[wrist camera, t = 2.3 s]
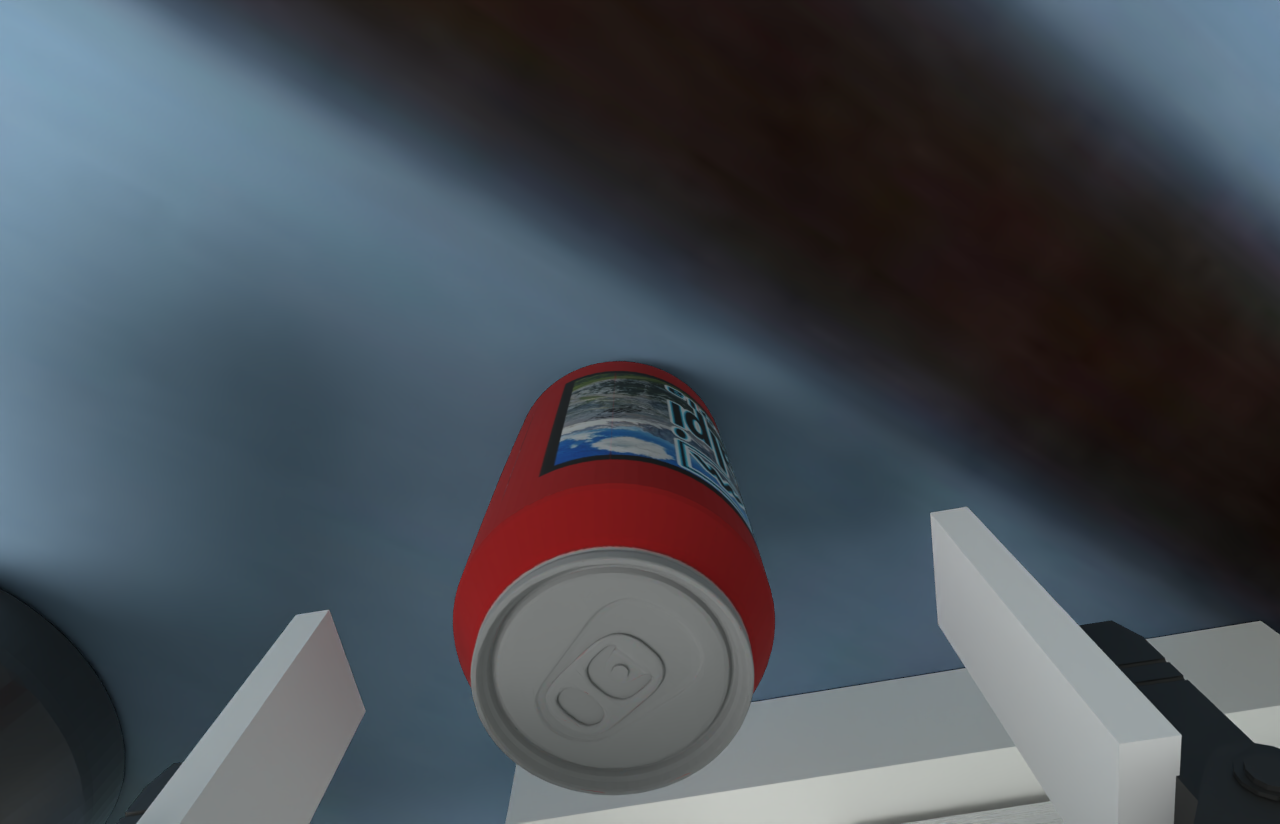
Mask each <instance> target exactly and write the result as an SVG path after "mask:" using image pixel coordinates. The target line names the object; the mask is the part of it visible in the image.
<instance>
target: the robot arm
mask: <svg viewBox="0 0 1280 824" xmlns="http://www.w3.org/2000/svg"><path fill="white" fill-rule="evenodd" d="M930 516H931V531H932V545H933V559H934V574H935V588H936V603H937V617H938V625H939V627H940V628H941V630H942V631H943V633H944V634H945V636H946V638H947V639H948V641H949V642H950V644H951V645H952V647H953V648H954V650H955V652H956V653H957V655H958V656H959V658H960V659H961V661H962V663H963V664H964V666H965V667H966V669H967V670H968V672H969V674H970V675H971V677H972V678H973V680H974V681H975V683H976V685H977V686H978V688H979V689H980V691H981V692H982V694H983V696H984V697H985V699H986V700H987V702H988V703H989V705H990V707H991V708H992V710H993V711H994V713H995V714H996V716H997V717H998V719H999V721H1000V722H1001V724H1002V725H1003V727H1004V728H1005V730H1006V732H1007V733H1008V735H1009V736H1010V738H1011V739H1012V741H1013V743H1014V744H1015V746H1016V747H1017V749H1018V750H1019V752H1020V754H1021V755H1022V757H1023V758H1024V760H1025V761H1026V763H1027V765H1028V766H1029V768H1030V769H1031V771H1032V772H1033V774H1034V776H1035V777H1036V779H1037V780H1038V782H1039V783H1040V785H1041V786H1042V788H1043V790H1044V791H1045V793H1046V794H1047V796H1048V797H1049V799H1050V801H1051V802H1052V804H1053V805H1054V807H1055V808H1056V810H1057V812H1058V813H1059V815H1060V816H1061V818H1062V819H1063V821H1064V823H1065V824H1280V749H1279V748H1277V747H1274V746H1269V745H1263V744H1258V743H1254V742H1253V741H1252V740H1251V739H1250V738H1249V737H1248V736H1247V735H1246V734H1245V733H1243V732H1242V731H1241V730H1240V729H1239V728H1238V727H1237V726H1236V725H1235V724H1234V723H1233V722H1232V721H1231V720H1230V719H1229V718H1228V717H1227V716H1226V715H1225V714H1223V713H1222V712H1221V711H1220V710H1219V709H1218V708H1217V707H1216V706H1215V705H1214V704H1213V703H1212V702H1211V701H1210V700H1209V699H1208V698H1207V697H1206V696H1205V695H1204V694H1202V693H1201V692H1200V691H1199V690H1198V689H1197V688H1196V687H1195V686H1194V685H1193V684H1192V683H1191V682H1190V681H1189V680H1185V679H1184V677H1183V675H1182V674H1181V673H1180V672H1179V671H1178V670H1177V669H1176V668H1175V667H1174V666H1173V665H1172V664H1171V663H1170V662H1166V660H1165V657H1164V656H1163V655H1161V654H1160V653H1159V652H1158V651H1157V650H1156V649H1155V648H1154V647H1153V646H1152V645H1151V644H1150V643H1149V642H1148V641H1147V640H1146V639H1145V638H1144V637H1142V636H1140V635H1138V634H1136V633H1134V632H1133V631H1131V630H1129V629H1127V628H1125V627H1123V626H1121V625H1119V624H1117V623H1115V622H1113V621H1105V622H1099V623H1092V624H1085V625H1078V624H1077V623H1076V622H1075V621H1074V620H1073V619H1072V618H1071V617H1070V616H1069V615H1068V614H1067V613H1066V611H1065V610H1064V609H1063V608H1062V607H1061V606H1060V605H1059V604H1058V603H1057V602H1056V601H1055V600H1054V599H1053V598H1052V597H1051V595H1050V594H1049V593H1048V592H1047V591H1046V590H1045V589H1044V588H1043V587H1042V586H1041V585H1040V584H1039V583H1038V582H1037V581H1036V579H1035V578H1034V577H1033V576H1032V575H1031V574H1030V573H1029V572H1028V571H1027V570H1026V569H1025V568H1024V567H1023V566H1022V565H1021V564H1020V562H1019V561H1018V560H1017V559H1016V558H1015V557H1014V556H1013V555H1012V554H1011V553H1010V552H1009V551H1008V550H1007V549H1006V548H1005V546H1004V545H1003V544H1002V543H1001V542H1000V541H999V540H998V539H997V538H996V537H995V536H994V535H993V534H992V533H991V532H990V530H989V529H988V528H987V527H986V526H985V525H984V524H983V523H982V522H981V521H980V520H979V519H978V518H977V517H976V516H975V515H974V513H973V512H972V511H971V510H970V509H969V508H968V507H962V508H956V509H950V510H943V511H937V512H931V513H930ZM365 712H366V710H365V708H364V705H363V702H362V699H361V697H360V694H359V691H358V688H357V685H356V683H355V680H354V677H353V674H352V671H351V669H350V666H349V663H348V660H347V658H346V655H345V652H344V649H343V646H342V644H341V641H340V638H339V635H338V633H337V630H336V627H335V624H334V621H333V619H332V616H331V613H330V610H323V611H316V612H310V613H304V614H298V615H295V617H294V618H293V619H292V621H291V622H290V623H289V624H288V626H287V627H286V628H285V630H284V631H283V632H282V634H281V635H280V636H279V638H278V639H277V640H276V641H275V643H274V644H273V645H272V647H271V648H270V649H269V651H268V652H267V653H266V655H265V656H264V657H263V659H262V660H261V661H260V662H259V664H258V665H257V666H256V668H255V669H254V670H253V672H252V673H251V674H250V676H249V677H248V678H247V679H246V681H245V682H244V683H243V685H242V686H241V687H240V689H239V690H238V691H237V693H236V694H235V695H234V696H233V698H232V699H231V700H230V702H229V703H228V704H227V706H226V707H225V708H224V710H223V711H222V712H221V713H220V715H219V716H218V717H217V719H216V720H215V721H214V723H213V724H212V725H211V727H210V728H209V729H208V730H207V732H206V733H205V734H204V736H203V737H202V738H201V740H200V741H199V742H198V744H197V745H196V746H195V748H194V749H193V750H192V751H191V753H190V754H189V755H188V757H187V758H186V759H185V761H184V762H181V763H174V764H173V765H171V766H170V767H169V768H168V769H167V770H165V771H164V772H163V773H162V774H161V775H159V776H158V777H157V778H156V779H155V780H154V781H152V782H151V783H150V784H149V785H148V786H146V787H145V788H144V790H143V791H142V792H141V793H140V795H139V796H138V797H137V798H136V800H135V801H134V802H133V804H132V805H131V806H130V807H129V809H128V810H127V811H126V812H125V817H123V818H121V819H120V820H119V821H118V822H117V824H309V823H310V821H311V819H312V817H313V815H314V813H315V811H316V809H317V807H318V805H319V803H320V801H321V799H322V797H323V795H324V793H325V791H326V789H327V788H328V786H329V784H330V782H331V780H332V778H333V776H334V774H335V772H336V770H337V768H338V766H339V764H340V762H341V760H342V758H343V756H344V754H345V752H346V750H347V748H348V746H349V744H350V742H351V740H352V738H353V736H354V734H355V732H356V730H357V728H358V726H359V724H360V722H361V720H362V718H363V716H364V714H365ZM124 769H125V753H124V743H123V736H122V732H121V728H120V724H119V720H118V717H117V715H116V712H115V709H114V707H113V704H112V702H111V700H110V698H109V695H108V694H107V692H106V690H105V688H104V686H103V684H102V683H101V681H100V680H99V678H98V676H97V675H96V673H95V672H94V670H93V669H92V668H91V666H90V665H89V664H88V662H87V661H86V660H85V658H84V657H83V656H82V655H81V654H80V652H79V651H78V650H77V649H76V648H75V647H74V646H73V645H72V644H71V642H70V641H69V640H68V639H67V638H66V637H65V636H64V635H63V634H62V633H60V632H59V631H58V630H57V629H56V628H55V627H54V626H53V625H52V624H50V623H49V622H48V621H47V620H46V619H44V618H43V617H42V616H41V615H39V614H38V613H37V612H35V611H34V610H33V609H31V608H30V607H28V606H27V605H26V604H24V603H23V602H21V601H20V600H18V599H16V598H15V597H13V596H12V595H10V594H8V593H7V592H5V591H3V590H1V589H0V824H104V823H105V822H106V821H107V819H108V817H109V816H110V814H111V812H112V811H113V809H114V806H115V804H116V802H117V800H118V797H119V794H120V791H121V787H122V783H123V777H124Z"/></svg>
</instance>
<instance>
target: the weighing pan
mask: <svg viewBox="0 0 1280 824" xmlns="http://www.w3.org/2000/svg"><path fill="white" fill-rule="evenodd" d="M903 824H1065V823H1064V821H1063V819H1062V818H1061V816H1060V815H1059V813H1058V812H1057V810H1056V808H1055V807H1054V805H1053V804H1052V802H1051V801H1048V802H1042V803H1035V804H1028V805H1022V806H1015V807H1009V808H1002V809H995V810H989V811H982V812H976V813H969V814H962V815H956V816H949V817H943V818H936V819H930V820H923V821H916V822H910V823H903Z"/></svg>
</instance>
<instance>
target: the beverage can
mask: <svg viewBox="0 0 1280 824" xmlns="http://www.w3.org/2000/svg"><path fill="white" fill-rule="evenodd" d="M774 631H775V612H774V603H773V598H772V593H771V589H770V586H769V583H768V579H767V576H766V573H765V570H764V566H763V563H762V560H761V557H760V553H759V550H758V547H757V544H756V541H755V537H754V534H753V531H752V528H751V525H750V522H749V519H748V516H747V513H746V510H745V507H744V504H743V501H742V497H741V494H740V491H739V488H738V485H737V482H736V479H735V476H734V474H733V471H732V468H731V465H730V462H729V459H728V456H727V453H726V451H725V448H724V445H723V442H722V440H721V437H720V434H719V432H718V429H717V426H716V424H715V422H714V419H713V417H712V415H711V413H710V412H709V410H708V408H707V407H706V405H705V404H704V402H703V401H702V400H701V399H700V397H699V396H698V395H697V394H696V393H695V392H694V391H693V390H692V389H691V388H690V387H689V386H687V385H686V384H685V383H684V382H682V381H681V380H679V379H678V378H676V377H675V376H673V375H671V374H669V373H667V372H665V371H663V370H661V369H658V368H655V367H653V366H649V365H645V364H641V363H635V362H626V361H614V362H604V363H597V364H593V365H589V366H586V367H583V368H580V369H578V370H576V371H573V372H571V373H569V374H567V375H566V376H564V377H562V378H561V379H559V380H558V381H556V382H555V383H554V384H553V385H551V386H550V387H549V388H548V389H547V390H546V391H545V392H544V393H543V394H542V395H541V396H540V397H539V398H538V399H537V401H536V402H535V403H534V405H533V406H532V408H531V409H530V411H529V413H528V415H527V417H526V419H525V421H524V423H523V426H522V428H521V430H520V432H519V434H518V437H517V439H516V441H515V443H514V446H513V448H512V450H511V453H510V455H509V457H508V460H507V462H506V465H505V467H504V469H503V472H502V474H501V477H500V479H499V481H498V484H497V486H496V489H495V491H494V494H493V496H492V499H491V501H490V504H489V506H488V509H487V511H486V514H485V516H484V519H483V521H482V524H481V527H480V529H479V532H478V535H477V537H476V540H475V543H474V545H473V548H472V550H471V553H470V556H469V558H468V561H467V564H466V566H465V569H464V572H463V574H462V577H461V580H460V583H459V585H458V589H457V593H456V597H455V603H454V610H453V632H454V640H455V646H456V651H457V654H458V658H459V662H460V665H461V667H462V670H463V672H464V675H465V677H466V679H467V681H468V683H469V685H470V687H471V689H472V696H473V700H474V703H475V707H476V710H477V712H478V715H479V718H480V720H481V722H482V724H483V726H484V727H485V729H486V731H487V732H488V734H489V736H490V737H491V738H492V740H493V741H494V742H495V743H496V745H497V746H498V747H499V748H500V749H501V750H502V751H503V752H504V753H505V754H506V755H507V756H508V757H509V758H510V759H511V760H512V761H514V762H515V763H516V764H518V765H519V766H520V767H522V768H523V769H525V770H526V771H528V772H529V773H531V774H532V775H534V776H536V777H538V778H540V779H542V780H544V781H546V782H548V783H551V784H554V785H557V786H559V787H562V788H566V789H569V790H572V791H577V792H583V793H589V794H596V795H628V794H637V793H643V792H648V791H652V790H656V789H659V788H663V787H666V786H669V785H671V784H674V783H676V782H679V781H681V780H683V779H685V778H687V777H689V776H691V775H692V774H694V773H696V772H697V771H699V770H701V769H702V768H704V767H705V766H706V765H708V764H709V763H710V762H711V761H713V760H714V759H715V758H716V757H717V756H718V755H719V754H720V753H721V752H722V751H723V750H724V749H725V748H726V747H727V746H728V745H729V743H730V742H731V741H732V739H733V738H734V737H735V735H736V734H737V732H738V731H739V729H740V728H741V726H742V724H743V722H744V719H745V717H746V715H747V713H748V710H749V707H750V704H751V700H752V695H753V693H754V691H755V690H756V688H757V686H758V684H759V682H760V681H761V679H762V677H763V674H764V672H765V669H766V667H767V664H768V661H769V657H770V654H771V650H772V645H773V640H774Z"/></svg>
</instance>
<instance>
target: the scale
mask: <svg viewBox="0 0 1280 824" xmlns="http://www.w3.org/2000/svg"><path fill="white" fill-rule="evenodd" d="M1146 640H1147V641H1148V642H1149V643H1150V644H1151V645H1152V646H1153V647H1154V648H1155V649H1156V650H1157V651H1158V652H1159V653H1160V654H1161V655H1163V656H1164V657H1165V660H1166V662H1170V663H1171V664H1172V665H1173V666H1174V667H1175V668H1176V669H1177V670H1178V671H1179V672H1180V673H1181V674H1182V675H1183V677H1184V679H1185V680H1189V681H1190V682H1191V683H1192V684H1193V685H1194V686H1195V687H1196V688H1197V689H1198V690H1199V691H1200V692H1201V693H1202V694H1204V695H1205V696H1206V697H1207V698H1208V699H1209V700H1210V701H1211V702H1212V703H1213V704H1214V705H1215V706H1216V707H1217V708H1218V709H1219V710H1220V711H1221V712H1222V713H1223V714H1225V715H1226V716H1227V717H1228V718H1229V719H1230V720H1231V721H1232V722H1233V723H1234V724H1235V725H1236V726H1237V727H1238V728H1239V729H1240V730H1241V731H1242V732H1243V733H1245V734H1246V735H1247V736H1248V737H1249V738H1250V739H1251V740H1252V741H1253V742H1254V743H1258V744H1263V745H1269V746H1274V747H1277V748H1279V749H1280V634H1278V633H1277V632H1275V631H1274V630H1273V629H1271V628H1270V627H1269V626H1267V625H1266V624H1264V623H1263V622H1262V621H1256V622H1250V623H1244V624H1238V625H1231V626H1225V627H1219V628H1213V629H1206V630H1200V631H1194V632H1188V633H1181V634H1175V635H1169V636H1163V637H1156V638H1150V639H1146ZM1048 801H1050V799H1049V797H1048V796H1047V794H1046V793H1045V791H1044V790H1043V788H1042V786H1041V785H1040V783H1039V782H1038V780H1037V779H1036V777H1035V776H1034V774H1033V772H1032V771H1031V769H1030V768H1029V766H1028V765H1027V763H1026V761H1025V760H1024V758H1023V757H1022V755H1021V754H1020V752H1019V750H1018V749H1017V747H1016V746H1015V744H1014V743H1013V741H1012V739H1011V738H1010V736H1009V735H1008V733H1007V732H1006V730H1005V728H1004V727H1003V725H1002V724H1001V722H1000V721H999V719H998V717H997V716H996V714H995V713H994V711H993V710H992V708H991V707H990V705H989V703H988V702H987V700H986V699H985V697H984V696H983V694H982V692H981V691H980V689H979V688H978V686H977V685H976V683H975V681H974V680H973V678H972V677H971V675H970V674H969V672H968V670H967V669H966V668H963V669H957V670H950V671H944V672H938V673H932V674H925V675H919V676H913V677H907V678H900V679H894V680H888V681H882V682H875V683H869V684H863V685H857V686H850V687H844V688H838V689H832V690H825V691H819V692H813V693H807V694H800V695H794V696H788V697H782V698H775V699H769V700H763V701H757V702H751V704H750V707H749V710H748V713H747V715H746V717H745V719H744V722H743V724H742V726H741V728H740V729H739V731H738V732H737V734H736V735H735V737H734V738H733V739H732V741H731V742H730V743H729V745H728V746H727V747H726V748H725V749H724V750H723V751H722V752H721V753H720V754H719V755H718V756H717V757H716V758H715V759H714V760H713V761H711V762H710V763H709V764H708V765H706V766H705V767H704V768H702V769H701V770H699V771H697V772H696V773H694V774H692V775H691V776H689V777H687V778H685V779H683V780H681V781H679V782H676V783H674V784H671V785H669V786H666V787H663V788H659V789H656V790H652V791H648V792H643V793H637V794H628V795H596V794H589V793H583V792H577V791H572V790H569V789H566V788H562V787H559V786H557V785H554V784H551V783H548V782H546V781H544V780H542V779H540V778H538V777H536V776H534V775H532V774H531V773H529V772H528V771H526V770H525V769H523V768H522V767H520V766H519V765H518V764H516V769H515V774H514V779H513V785H512V790H511V795H510V801H509V806H508V812H507V817H506V822H505V824H903V823H910V822H916V821H923V820H930V819H936V818H943V817H949V816H956V815H962V814H969V813H976V812H982V811H989V810H995V809H1002V808H1009V807H1015V806H1022V805H1028V804H1035V803H1042V802H1048Z"/></svg>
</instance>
